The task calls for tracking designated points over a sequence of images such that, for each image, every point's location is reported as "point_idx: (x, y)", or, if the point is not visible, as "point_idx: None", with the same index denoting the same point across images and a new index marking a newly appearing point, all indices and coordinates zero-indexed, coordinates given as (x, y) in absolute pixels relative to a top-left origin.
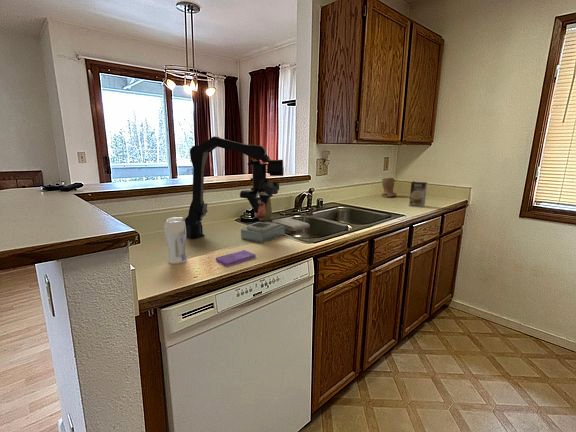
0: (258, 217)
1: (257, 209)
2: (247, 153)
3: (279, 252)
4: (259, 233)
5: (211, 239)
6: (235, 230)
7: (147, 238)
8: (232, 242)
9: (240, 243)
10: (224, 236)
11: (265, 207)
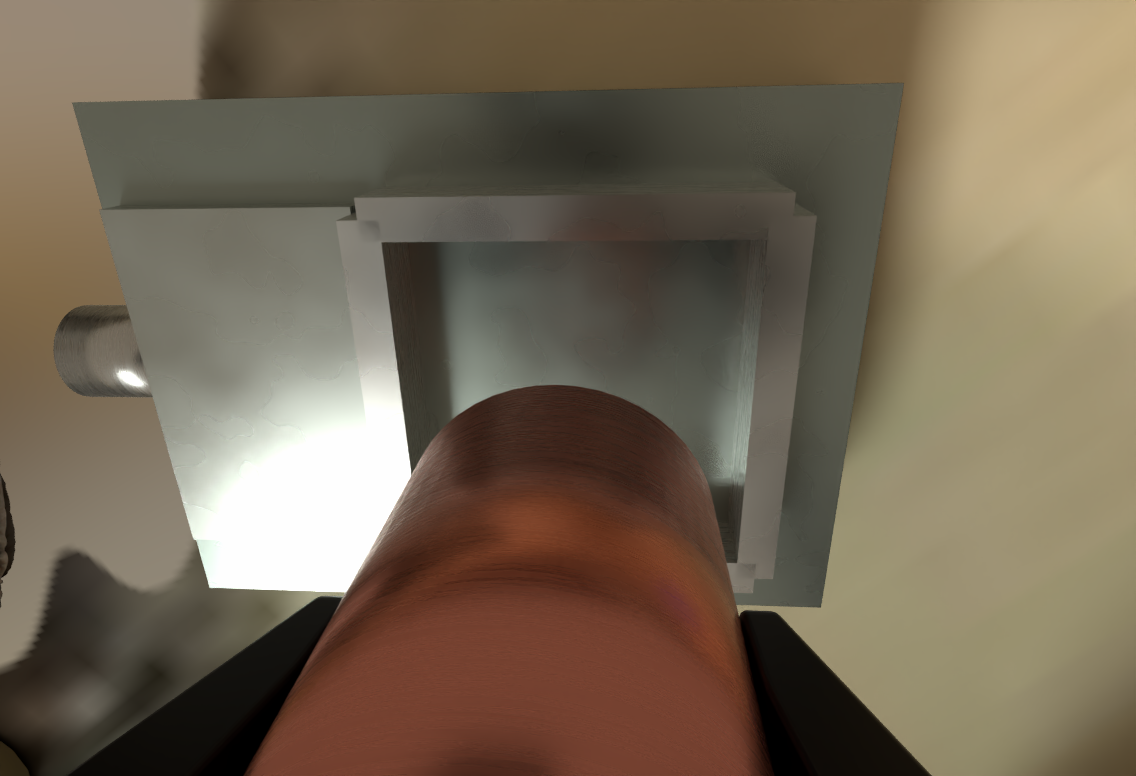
0: (705, 484)
1: (798, 697)
2: None
3: None
4: (889, 165)
5: (1010, 746)
6: None
7: None
8: (1012, 489)
9: (1007, 372)
10: None
11: (236, 674)
